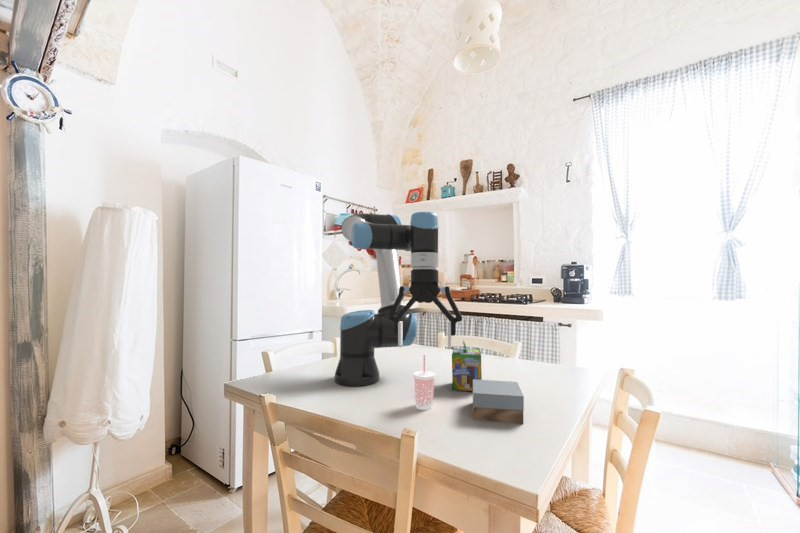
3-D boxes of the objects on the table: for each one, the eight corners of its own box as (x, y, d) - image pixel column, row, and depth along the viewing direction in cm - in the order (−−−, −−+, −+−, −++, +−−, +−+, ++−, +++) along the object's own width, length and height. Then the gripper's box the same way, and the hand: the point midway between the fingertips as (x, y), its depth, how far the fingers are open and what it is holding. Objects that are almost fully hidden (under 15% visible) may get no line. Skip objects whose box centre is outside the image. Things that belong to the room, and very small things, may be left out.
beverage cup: (423, 401, 102) (423, 351, 102) (440, 406, 98) (440, 355, 98) (408, 406, 97) (408, 355, 98) (425, 412, 93) (425, 358, 93)
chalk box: (482, 392, 109) (481, 344, 110) (451, 390, 111) (451, 343, 112) (481, 384, 118) (481, 339, 119) (453, 382, 120) (453, 338, 121)
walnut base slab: (472, 421, 89) (472, 407, 89) (473, 404, 101) (473, 392, 101) (523, 425, 86) (523, 411, 87) (517, 408, 98) (517, 395, 98)
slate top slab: (473, 407, 89) (473, 393, 89) (472, 391, 101) (472, 379, 101) (523, 410, 87) (523, 396, 87) (517, 394, 99) (517, 381, 99)
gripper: (377, 268, 97) (377, 347, 96) (470, 268, 92) (471, 351, 91) (384, 269, 105) (383, 342, 104) (470, 268, 99) (471, 345, 99)
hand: (424, 346), depth 98 cm, fingers open, 13 cm apart
